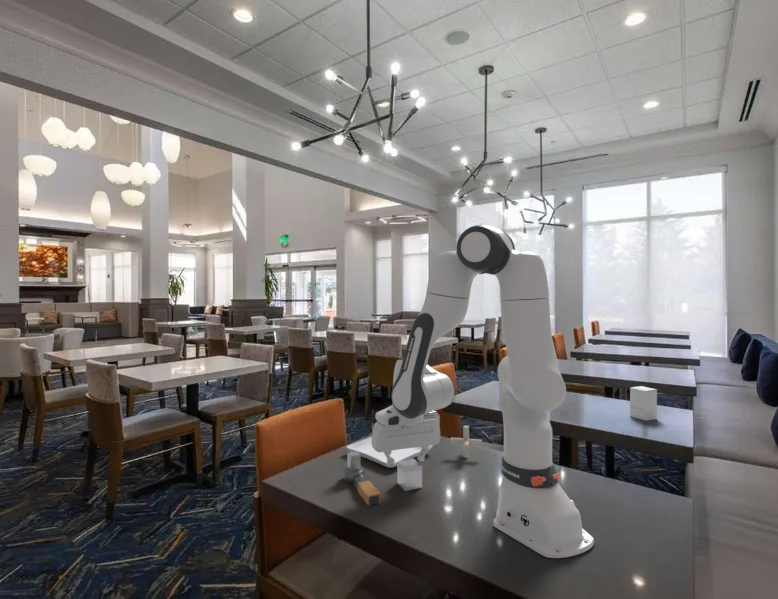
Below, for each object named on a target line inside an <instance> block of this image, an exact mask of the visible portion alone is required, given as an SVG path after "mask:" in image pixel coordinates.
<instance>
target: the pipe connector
mask: <svg viewBox="0 0 778 599" xmlns="http://www.w3.org/2000/svg"><path fill="white" fill-rule="evenodd" d="M462 429H463V430H462V431H463V432H462V433H463V437H450V444H456V445H457V444H458V445H462V450H463V451H462V457H463V458H464V459H469V457H470V446H471V445H472V446H482V444H483V443H482V442H483V440H482V439H476V438H470V426H469V425H463V428H462Z"/></svg>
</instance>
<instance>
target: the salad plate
mask: <svg viewBox="0 0 778 599" xmlns="http://www.w3.org/2000/svg"><path fill="white" fill-rule="evenodd" d="M371 441H372V436H370V437H368V438H364V439H361V440H359V441H357V442H354V443H351V444H349V445H346V449H347V450H348V451H349V452H355V451H357V452H358V453H359V454H360V455H361V458H364V459H366V458H367V460H369V461H372V462H374V463H376V464H379V465H381V466H383V467H386V468H389V469H390V468H395V467H397V462H398V461H403V460H409V459H416V457H418V456H417V454H418V453H420V451H421V449H422V447H414V448H407V449H400V450H392V451H391V454H389V455H390V457H392V458H393V459H394V460H395V462H394V466H388V465H387V457H386V456H385V454H384V452H377V451H376V450H375V449H374V448H373V447H372V444H371ZM433 446H434V445H429V449H428V451H427V453H428V452H429V451H431V450H432V449H433Z"/></svg>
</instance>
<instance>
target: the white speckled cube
mask: <svg viewBox="0 0 778 599" xmlns="http://www.w3.org/2000/svg"><path fill="white" fill-rule="evenodd" d="M396 473H397V474H396V476H397V480H396V483H397V485H399V487H400V488H401V489H403V491H405V492H407V491H411V490H416V489H422V488H423V464H421V463H420V462H419V461H418V460H416V458H413V459H409V460H403V461H398V462H397V466H396Z"/></svg>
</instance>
